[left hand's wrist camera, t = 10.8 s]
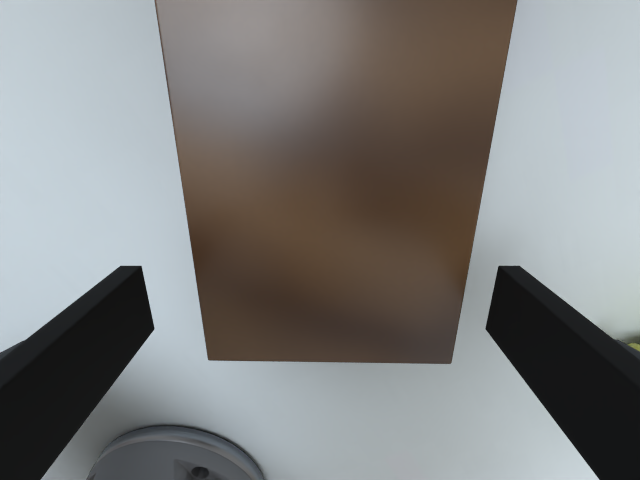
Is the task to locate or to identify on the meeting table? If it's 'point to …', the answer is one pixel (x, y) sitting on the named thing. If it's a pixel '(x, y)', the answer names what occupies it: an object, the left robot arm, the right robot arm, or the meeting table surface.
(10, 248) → the meeting table surface
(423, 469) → the meeting table surface
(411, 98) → the wooden crate block
